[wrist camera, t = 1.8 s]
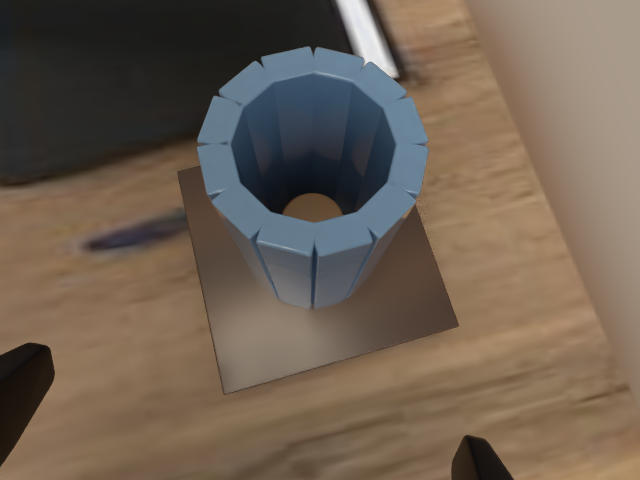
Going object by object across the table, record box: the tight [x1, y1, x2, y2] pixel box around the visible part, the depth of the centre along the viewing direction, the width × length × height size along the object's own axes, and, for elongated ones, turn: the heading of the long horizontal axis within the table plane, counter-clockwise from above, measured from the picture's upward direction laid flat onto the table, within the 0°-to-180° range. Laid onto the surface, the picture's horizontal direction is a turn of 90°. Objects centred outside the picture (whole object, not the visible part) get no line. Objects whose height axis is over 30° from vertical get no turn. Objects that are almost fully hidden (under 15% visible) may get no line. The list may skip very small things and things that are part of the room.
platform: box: [177, 166, 459, 395], centre depth 21 cm, size 11×11×6 cm
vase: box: [197, 47, 429, 309], centre depth 16 cm, size 6×6×10 cm
